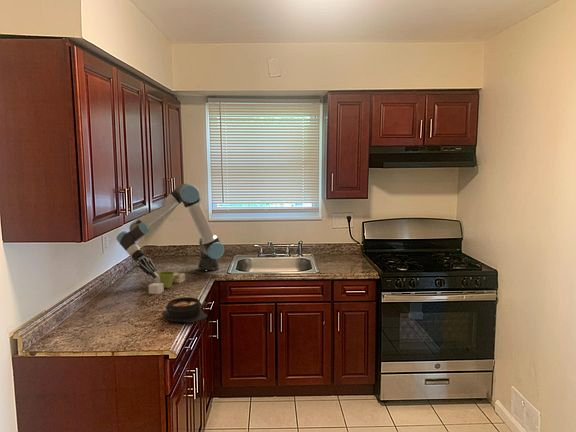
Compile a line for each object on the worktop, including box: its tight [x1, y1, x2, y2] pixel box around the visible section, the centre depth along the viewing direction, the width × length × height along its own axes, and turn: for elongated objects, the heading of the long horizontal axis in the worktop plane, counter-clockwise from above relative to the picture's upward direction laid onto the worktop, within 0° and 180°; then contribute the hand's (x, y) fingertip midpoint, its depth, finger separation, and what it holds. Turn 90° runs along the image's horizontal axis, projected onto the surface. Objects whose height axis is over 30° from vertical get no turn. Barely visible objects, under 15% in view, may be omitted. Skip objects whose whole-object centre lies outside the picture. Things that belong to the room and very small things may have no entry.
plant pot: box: [157, 270, 175, 289], centre depth 270 cm, size 9×9×9 cm
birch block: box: [172, 272, 186, 284], centre depth 282 cm, size 6×6×5 cm
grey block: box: [148, 282, 165, 295], centre depth 259 cm, size 6×6×5 cm
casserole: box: [161, 296, 208, 324], centre depth 214 cm, size 25×19×8 cm
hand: (159, 281), depth 271 cm, fingers closed
